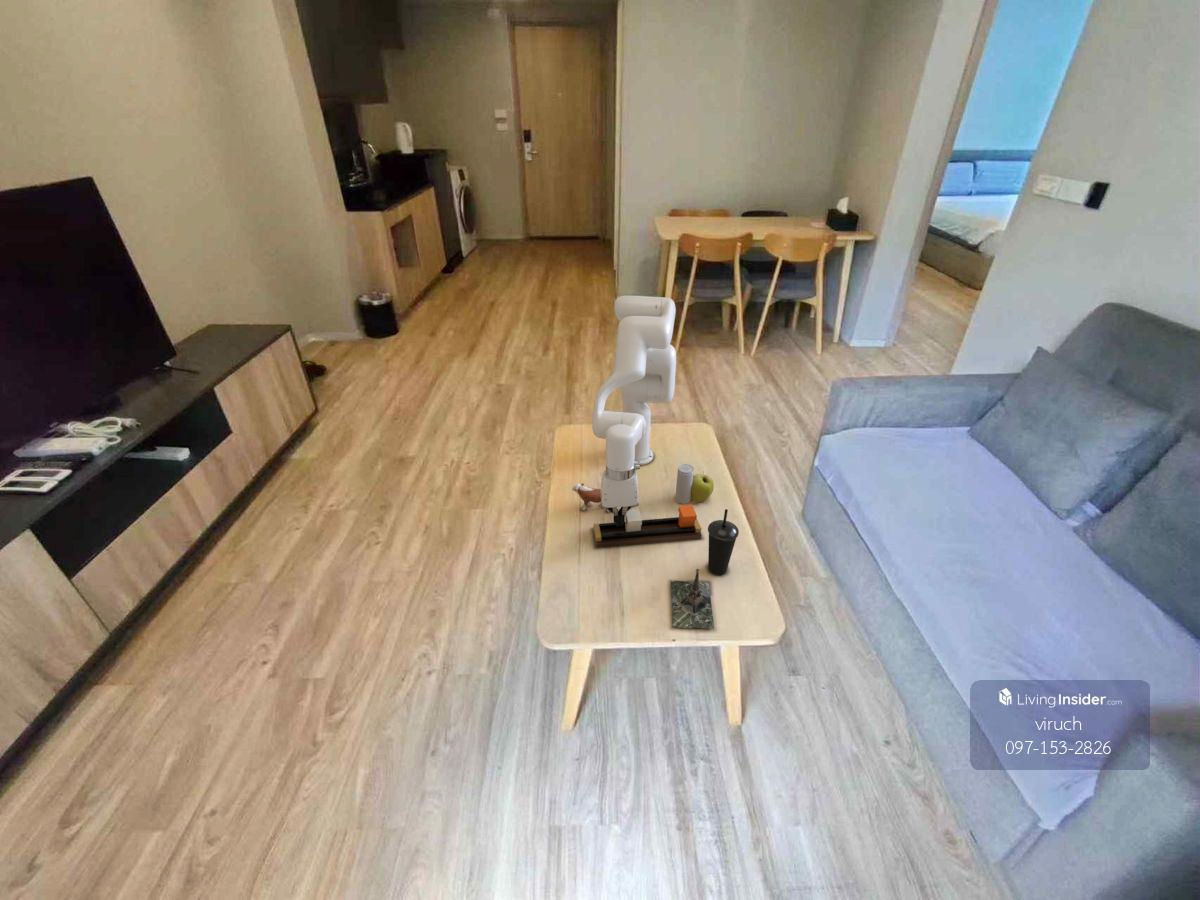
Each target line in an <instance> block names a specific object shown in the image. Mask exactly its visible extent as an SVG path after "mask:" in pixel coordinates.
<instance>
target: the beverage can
mask: <svg viewBox="0 0 1200 900" xmlns="http://www.w3.org/2000/svg"><path fill="white" fill-rule="evenodd" d="M677 468H678V469H677V475H676V484H675V497H674V498H675V501H676V502H677V503H679V504H682V505H685V504H686V505H687V504H689V503H690V502H691V500H692V499H691V488H692V483H693V476H694V475H695V470H694V467H693V466H692V465H691V464H687V463H684V464H683V463H682V464H680V465H679V466H678V467H677Z"/></svg>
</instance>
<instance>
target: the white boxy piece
mask: <svg viewBox="0 0 1200 900" xmlns="http://www.w3.org/2000/svg"><path fill="white" fill-rule="evenodd" d="M642 520H643V519H642V515H641V512H640V509H639V508H638V509H635V508H634V509H630V510H629V511H627V513H626V515H625V529H626V532H634V531H641V525H642Z"/></svg>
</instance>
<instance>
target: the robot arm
mask: <svg viewBox="0 0 1200 900" xmlns="http://www.w3.org/2000/svg"><path fill="white" fill-rule="evenodd" d="M613 308H614V309H613V310H614V315H615V317H616V319H617V320H618V321H619V322H618V326H617V331H616V333H617V334H616V343H615V353H614V354H615V355H614V363H613V364H614V365H613V372H612V374H611V375H610V376H609V377H608V378H607V379H606V380H605V381H604V382H603V383H602V384H601V385H600V388H599V389H598V391H597V392H596V396H595V398H594V403H593V410H592V411H593V412H592V421H591V429H592V433H593V435H594V436H595V438H598V439H603V440H605V469H604V470H603V471H602V474H601V478H600V479H601V480H600V488H599V489H600V497H601V502H600V503H599V509H601V510H605V511H607V510H609V513H611V514H613V516H612V517H613V523H615V522H616V525H617V527H619V526H623V522H625V518H626V517H625V515H626V513H627V511H629V510H632V509H633V508H634V509H635V508H637V507H639V505H640V504H639V481H638V474H637V471H638V470H640V469H641V466H644V465H647V464H649V463H650V462H652V460H653V459H654V451H653V450H652V449H651V448H650V443H651V441H650V440H651V425H652V410H651V408H650V406H649V405H648V403H651V404H669V403H671V402H672V401H673V399H674V395H675V387H676V373H677V352H676V351H677V350H676V348H675V347H674V346H673V345H672V344H671V342H672V338H673V334H674V327H675V326H674V325H675V319H676V313H677V309H676V304H675V302H674V300H673V299H672V298H670V297H665V296H664V297H663V296H647V295H621V296H618V297H617V298H616V299H615V300H614V304H613ZM617 389H620V393H621V399H622V400H621V401H622V411H612V410H605V406H606V402H607V399H608V397H609V396H610V395H611V394H612V393H613V392H614V391H615V390H617Z"/></svg>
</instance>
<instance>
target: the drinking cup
mask: <svg viewBox="0 0 1200 900" xmlns="http://www.w3.org/2000/svg"><path fill="white" fill-rule="evenodd" d="M728 510H729V509H727V508H725V509H724V513H723V519H717V520H713V521H712V522H710V523H709V524H708V526H707V532H708V557H707V558H708V560H707V563H708V565H707V567H708V568H707V569H708V571H709V572H710V573H711V574H713V575H715V576H723V575H725V574H726V573H727V571H728V567H729V564H730V560H731V558H732V557H731V556H732V554H733V551H734V547H735V545H736V540H737V538H738V537H739V534H740V531H739V527H737V525H736V524H735V523H733V522H731V521H729V520H727V518H728V517H727V516H728V512H729V511H728Z"/></svg>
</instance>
